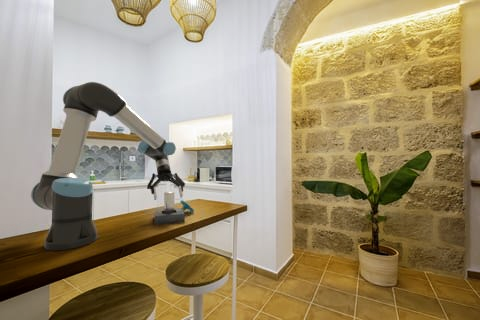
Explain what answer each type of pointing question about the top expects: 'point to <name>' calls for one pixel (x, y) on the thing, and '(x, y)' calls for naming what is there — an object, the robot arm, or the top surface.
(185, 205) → the teal irregular piece
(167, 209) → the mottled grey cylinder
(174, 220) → the block
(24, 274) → the top surface
